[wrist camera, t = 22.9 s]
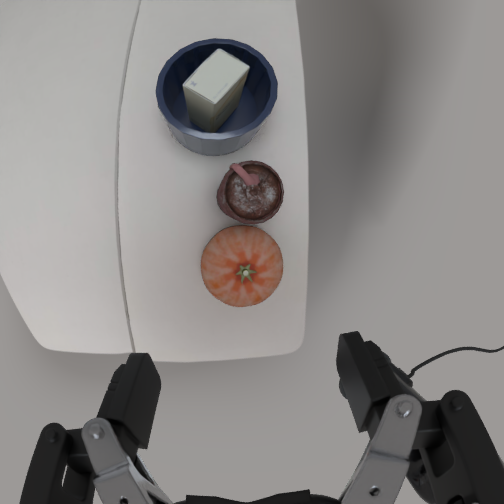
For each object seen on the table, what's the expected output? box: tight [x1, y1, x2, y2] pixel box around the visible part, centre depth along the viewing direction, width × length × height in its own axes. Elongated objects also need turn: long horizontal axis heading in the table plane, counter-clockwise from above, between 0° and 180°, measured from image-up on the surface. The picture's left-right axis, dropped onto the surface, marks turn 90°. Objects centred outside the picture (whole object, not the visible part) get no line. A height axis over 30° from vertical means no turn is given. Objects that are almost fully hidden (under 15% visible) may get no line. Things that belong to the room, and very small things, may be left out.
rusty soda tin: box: [217, 161, 284, 224], centre depth 31 cm, size 6×6×14 cm
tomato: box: [201, 225, 283, 307], centre depth 36 cm, size 11×11×8 cm
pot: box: [156, 38, 278, 156], centre depth 31 cm, size 14×14×10 cm
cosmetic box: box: [183, 49, 250, 133], centre depth 29 cm, size 6×4×12 cm
